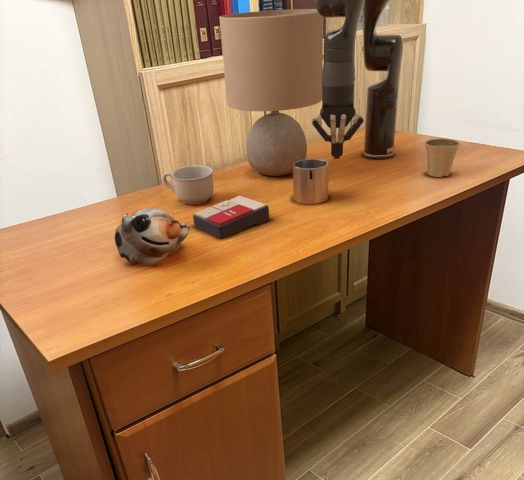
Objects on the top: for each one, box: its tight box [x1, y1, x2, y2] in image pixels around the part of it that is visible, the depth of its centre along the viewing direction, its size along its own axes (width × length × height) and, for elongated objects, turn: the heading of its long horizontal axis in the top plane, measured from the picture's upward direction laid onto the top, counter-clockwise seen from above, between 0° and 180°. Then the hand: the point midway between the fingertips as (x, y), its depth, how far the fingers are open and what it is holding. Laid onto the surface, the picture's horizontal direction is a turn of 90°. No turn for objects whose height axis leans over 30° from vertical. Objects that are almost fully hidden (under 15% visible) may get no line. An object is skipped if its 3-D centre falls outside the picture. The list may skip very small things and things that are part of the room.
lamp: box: [219, 8, 324, 177], centre depth 151 cm, size 27×27×41 cm
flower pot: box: [424, 138, 461, 178], centre depth 150 cm, size 9×9×9 cm
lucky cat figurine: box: [114, 207, 191, 266], centre depth 113 cm, size 15×12×14 cm
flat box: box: [192, 195, 270, 239], centre depth 129 cm, size 11×4×15 cm
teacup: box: [161, 164, 215, 206], centre depth 144 cm, size 14×11×8 cm
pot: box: [292, 158, 330, 205], centre depth 139 cm, size 9×12×9 cm
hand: (336, 157), depth 136 cm, fingers closed
